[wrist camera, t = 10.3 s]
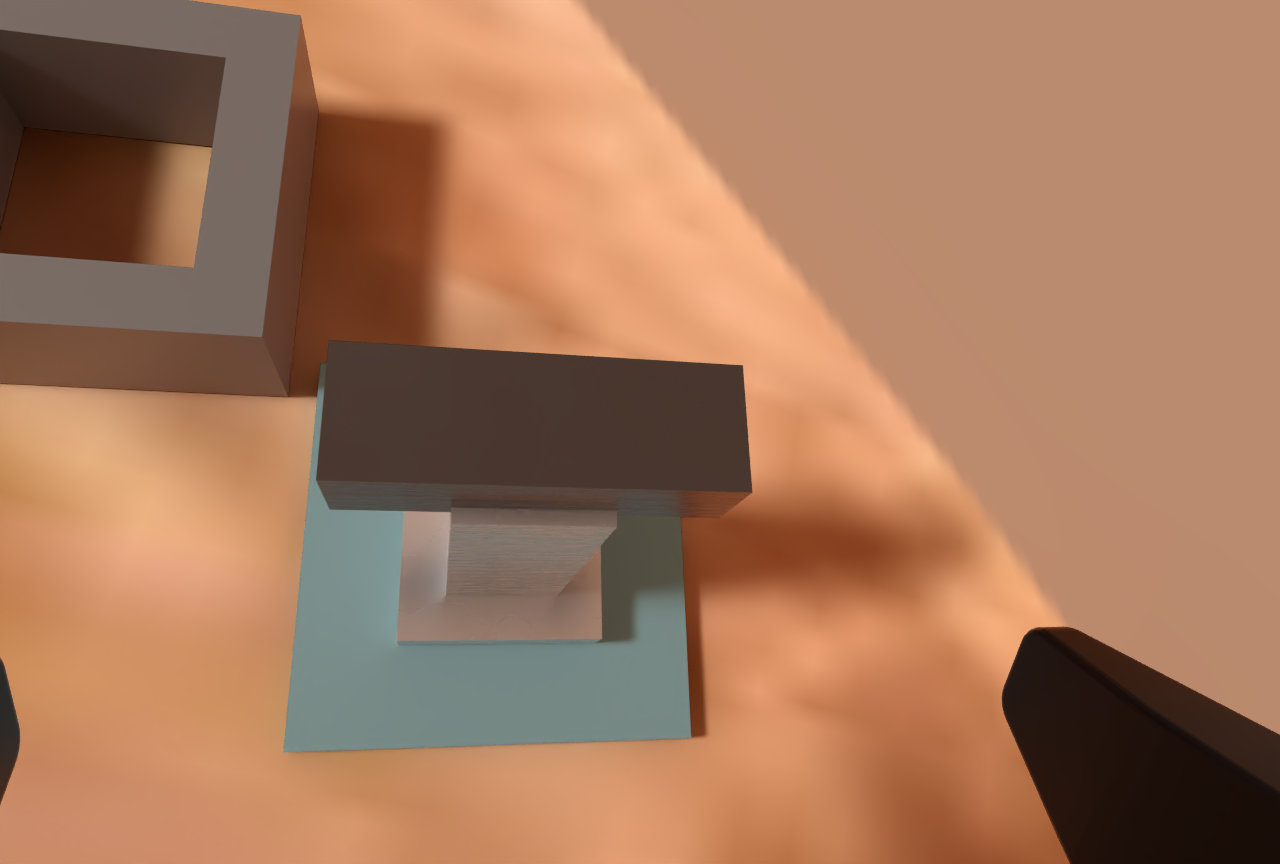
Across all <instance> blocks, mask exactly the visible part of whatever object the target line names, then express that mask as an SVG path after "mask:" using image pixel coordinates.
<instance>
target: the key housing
mask: <svg viewBox="0 0 1280 864" xmlns="http://www.w3.org/2000/svg"><path fill="white" fill-rule="evenodd" d="M318 114H319V110H318V105H317V99H316V94H315V89H314V83H313V78H312V73H311V67H310V62H309V57H308V51H307V46H306V41H305V36H304V30H303V25H302V20H301V16H300V15H293V14H285V13H278V12H271V11H263V10H256V9H248V8H241V7H234V6H226V5H219V4H212V3H204V2H197V1H190V0H0V227H1V223H2V219H3V215H4V210H5V206H6V202H7V198H8V194H9V189H10V185H11V181H12V177H13V172H14V168H15V164H16V160H17V156H18V151H19V147H20V143H21V139H22V134H23V130H24V127H28V128H38V129H47V130H57V131H67V132H76V133H86V134H96V135H105V136H115V137H125V138H134V139H144V140H153V141H163V142H173V143H182V144H192V145H202V146H211V147H212V153H211V159H210V166H209V172H208V179H207V185H206V192H205V199H204V205H203V212H202V218H201V225H200V231H199V238H198V245H197V251H196V258H195V264H194V268H190V267H177V266H164V265H151V264H137V263H124V262H111V261H98V260H85V259H71V258H58V257H45V256H32V255H19V254H5V253H0V383H6V384H27V385H48V386H69V387H90V388H111V389H133V390H154V391H175V392H196V393H217V394H238V395H259V396H280V397H288V395H289V385H290V376H291V367H292V357H293V348H294V339H295V329H296V320H297V311H298V301H299V292H300V283H301V273H302V264H303V255H304V245H305V236H306V227H307V217H308V208H309V199H310V189H311V180H312V171H313V161H314V152H315V143H316V133H317V124H318Z"/></svg>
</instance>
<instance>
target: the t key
mask: <svg viewBox="0 0 1280 864" xmlns="http://www.w3.org/2000/svg"><path fill="white" fill-rule="evenodd" d="M316 482H317V484H318V486H319V488H320V490H321V492H322V494H323V497H324V499H325V501H326V503H327V505H328V507H329V509H330V510H371V511H404V520H403V537H402V554H401V572H400V589H399V606H398V623H397V643H398V645H476V644H567V643H596V642H598V641H599V640H601V639H602V603H601V545H602V544H603V543H604V541H605V540H606V539H607V538H608V537H609V536H610V534H611V533H612V532H613V531H614V530H615V529H616V528H617V516H658V517H705V518H720V517H721V516H722V515H723V514H725V513H726V512H727V511H729V510H730V509H731V508H733V507H734V506H735V505H736V504H738V503H739V502H740V501H742V500H743V499H744V498H746V497H747V496H748V495H750V494H751V493H752V483H751V470H750V456H749V443H748V429H747V416H746V403H745V389H744V376H743V365H726V364H710V363H693V362H677V361H660V360H644V359H627V358H611V357H594V356H578V355H561V354H545V353H528V352H512V351H495V350H479V349H462V348H446V347H429V346H413V345H396V344H380V343H363V342H347V341H330V340H329V344H328V355H327V365H326V376H325V387H324V398H323V409H322V419H321V430H320V441H319V452H318V463H317V474H316Z"/></svg>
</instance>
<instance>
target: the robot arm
mask: <svg viewBox="0 0 1280 864" xmlns="http://www.w3.org/2000/svg"><path fill="white" fill-rule="evenodd" d="M1002 707H1003V711H1004V715H1005V718H1006V720H1007V722H1008V725H1009V727H1010V729H1011V732H1012V734H1013V736H1014V738H1015V741H1016V743H1017V745H1018V748H1019V750H1020V752H1021V754H1022V757H1023V759H1024V761H1025V764H1026V766H1027V768H1028V770H1029V773H1030V775H1031V777H1032V780H1033V782H1034V784H1035V786H1036V789H1037V791H1038V793H1039V795H1040V798H1041V800H1042V802H1043V805H1044V807H1045V809H1046V811H1047V814H1048V816H1049V818H1050V821H1051V823H1052V825H1053V827H1054V830H1055V832H1056V834H1057V837H1058V839H1059V841H1060V843H1061V845H1062V847H1063V849H1064V852H1065V854H1066V856H1067V858H1068V860H1069V862H1070V864H1280V735H1279V734H1277V733H1275V732H1273V731H1271V730H1269V729H1267V728H1265V727H1264V726H1262V725H1259V724H1258V723H1256V722H1254V721H1252V720H1250V719H1248V718H1246V717H1244V716H1243V715H1240V714H1238V713H1237V712H1235V711H1233V710H1231V709H1229V708H1227V707H1225V706H1223V705H1221V704H1219V703H1217V702H1216V701H1214V700H1212V699H1210V698H1208V697H1206V696H1204V695H1202V694H1200V693H1198V692H1196V691H1194V690H1192V689H1190V688H1188V687H1186V686H1185V685H1183V684H1181V683H1179V682H1177V681H1175V680H1173V679H1171V678H1169V677H1167V676H1165V675H1164V674H1162V673H1160V672H1158V671H1156V670H1154V669H1152V668H1150V667H1148V666H1146V665H1144V664H1142V663H1140V662H1138V661H1137V660H1135V659H1133V658H1131V657H1129V656H1127V655H1125V654H1123V653H1121V652H1119V651H1117V650H1115V649H1113V648H1112V647H1110V646H1107V645H1106V644H1103V643H1102V642H1100V641H1098V640H1096V639H1094V638H1092V637H1090V636H1088V635H1086V634H1085V633H1083V632H1081V631H1079V630H1076V629H1074V628H1070V627H1038V628H1034V629H1031V630H1030V631H1029V632H1028V633H1027V634H1026V635H1025V636H1024V638H1023V639H1022V642H1021V644H1020V647H1019V649H1018V652H1017V655H1016V657H1015V660H1014V662H1013V665H1012V667H1011V670H1010V672H1009V675H1008V678H1007V680H1006V683H1005V685H1004V688H1003V692H1002ZM19 745H20V729H19V724H18V719H17V715H16V711H15V707H14V703H13V699H12V695H11V691H10V687H9V682H8V678H7V674H6V670H5V666H4V664H3V661H2V659H1V658H0V804H1V801H2V799H3V796H4V793H5V790H6V788H7V785H8V782H9V780H10V777H11V774H12V771H13V769H14V766H15V763H16V760H17V756H18V752H19Z"/></svg>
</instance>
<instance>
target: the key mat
mask: <svg viewBox="0 0 1280 864" xmlns="http://www.w3.org/2000/svg"><path fill="white" fill-rule="evenodd" d="M326 365H327V363H320V373H319V384H318V394H317V405H316V415H315V426H314V436H313V447H312V457H311V468H310V478H309V489H308V499H307V509H306V520H305V530H304V541H303V551H302V562H301V572H300V583H299V593H298V604H297V614H296V624H295V635H294V645H293V656H292V666H291V677H290V687H289V698H288V708H287V719H286V729H285V740H284V750H283V752H310V751H339V750H367V749H396V748H424V747H453V746H482V745H510V744H539V743H567V742H596V741H624V740H653V739H681V738H691V725H690V704H689V682H688V661H687V639H686V618H685V596H684V574H683V553H682V531H681V517H658V516H617V528H616V529H615V530H614V531H613V532H612V533H611V534H610V536H609V537H608V538H607V539H606V540H605V541H604V543H603V544H602V545H601V603H602V639H601V640H599V641H598V642H596V643H567V644H476V645H398V643H397V623H398V606H399V589H400V572H401V554H402V537H403V520H404V511H371V510H330V509H329V507H328V505H327V503H326V501H325V499H324V497H323V494H322V492H321V490H320V488H319V486H318V484H317V482H316V474H317V463H318V452H319V441H320V430H321V419H322V409H323V398H324V387H325V376H326Z"/></svg>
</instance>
